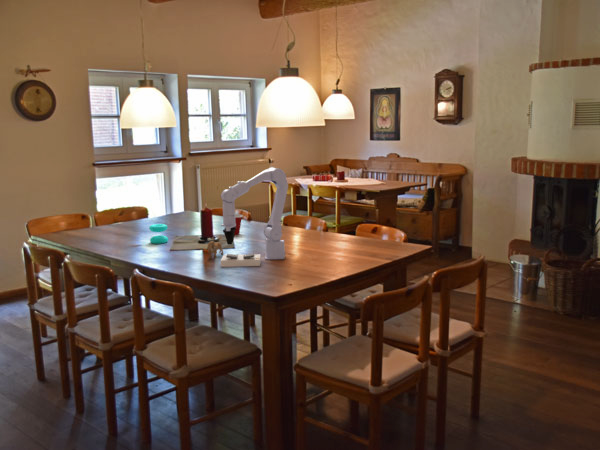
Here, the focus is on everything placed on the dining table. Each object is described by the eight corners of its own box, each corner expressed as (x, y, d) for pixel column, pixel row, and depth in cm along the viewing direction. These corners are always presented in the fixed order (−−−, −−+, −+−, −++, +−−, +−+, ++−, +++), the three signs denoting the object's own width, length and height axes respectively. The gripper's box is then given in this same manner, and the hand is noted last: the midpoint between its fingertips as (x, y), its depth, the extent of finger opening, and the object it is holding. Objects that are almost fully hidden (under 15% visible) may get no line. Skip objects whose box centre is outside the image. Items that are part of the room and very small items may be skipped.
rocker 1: (237, 257, 268) (237, 254, 268) (236, 259, 265) (237, 256, 264) (227, 256, 268) (227, 253, 268) (226, 258, 264) (226, 255, 264)
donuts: (170, 224, 323) (159, 227, 314) (172, 241, 324) (160, 244, 316) (157, 223, 327) (145, 225, 319) (158, 240, 329) (146, 243, 320)
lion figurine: (216, 260, 277) (215, 242, 275) (206, 260, 278) (205, 242, 276) (224, 253, 291) (224, 236, 290) (214, 253, 292) (213, 236, 290)
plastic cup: (242, 235, 336) (241, 215, 334) (224, 236, 336) (223, 216, 334) (244, 232, 347) (244, 213, 345) (227, 232, 347) (226, 213, 345)
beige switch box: (260, 260, 275) (260, 253, 274) (259, 265, 264) (259, 259, 263) (223, 261, 274) (223, 254, 274) (220, 266, 263) (220, 260, 263)
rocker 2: (254, 256, 268) (254, 252, 268) (254, 258, 265) (253, 254, 264) (244, 257, 269) (243, 254, 268) (243, 259, 265) (243, 256, 264)
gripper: (222, 212, 274) (223, 240, 276) (218, 217, 260) (220, 246, 262) (237, 212, 274) (238, 240, 276) (234, 217, 260) (235, 246, 262)
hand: (230, 243), depth 269 cm, fingers open, 4 cm apart
